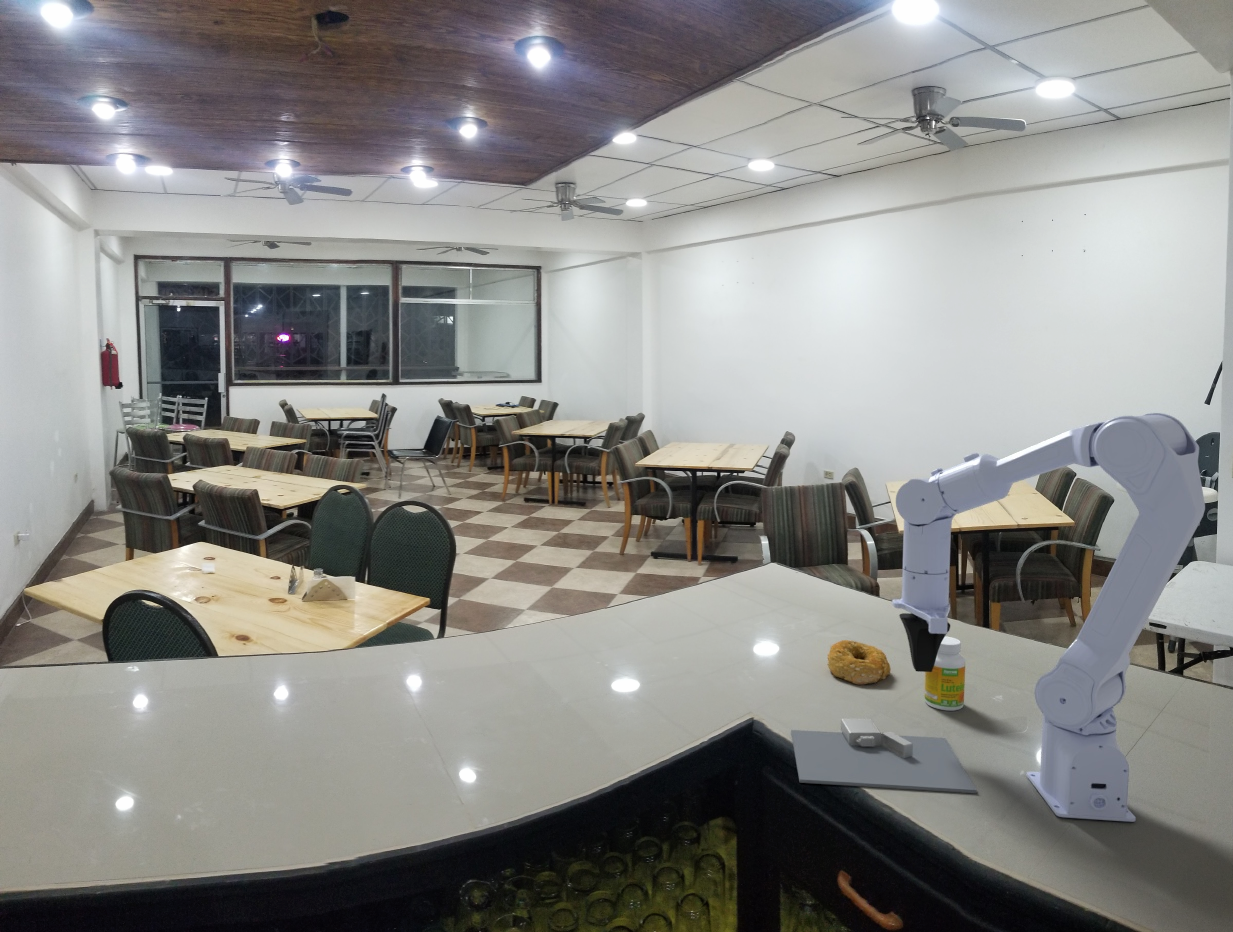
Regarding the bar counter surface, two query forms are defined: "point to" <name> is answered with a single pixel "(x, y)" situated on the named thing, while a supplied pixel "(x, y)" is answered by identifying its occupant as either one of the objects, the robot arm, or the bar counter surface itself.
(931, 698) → the supplement bottle
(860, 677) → the bagel
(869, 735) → the lighter
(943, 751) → the mat
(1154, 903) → the bar counter surface
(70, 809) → the bar counter surface
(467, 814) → the bar counter surface
